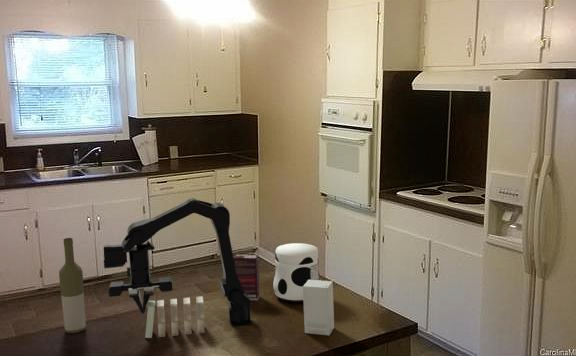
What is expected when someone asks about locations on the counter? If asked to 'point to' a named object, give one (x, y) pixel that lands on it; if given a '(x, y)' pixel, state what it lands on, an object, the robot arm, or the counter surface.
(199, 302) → the end domino
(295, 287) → the milk container
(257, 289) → the supplement box
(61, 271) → the bottle
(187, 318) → the domino
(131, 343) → the counter surface
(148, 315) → the domino
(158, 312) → the domino
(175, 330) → the domino
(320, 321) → the skincare box
